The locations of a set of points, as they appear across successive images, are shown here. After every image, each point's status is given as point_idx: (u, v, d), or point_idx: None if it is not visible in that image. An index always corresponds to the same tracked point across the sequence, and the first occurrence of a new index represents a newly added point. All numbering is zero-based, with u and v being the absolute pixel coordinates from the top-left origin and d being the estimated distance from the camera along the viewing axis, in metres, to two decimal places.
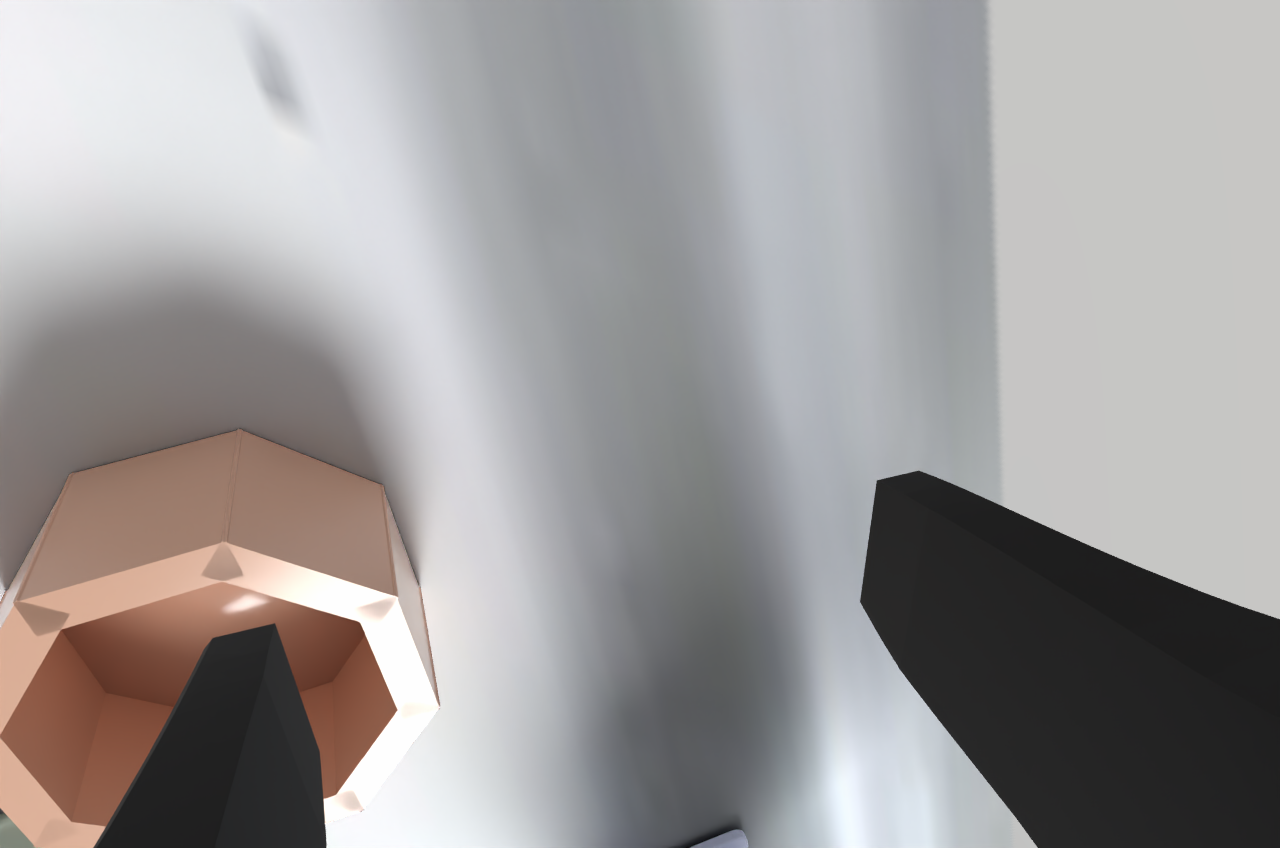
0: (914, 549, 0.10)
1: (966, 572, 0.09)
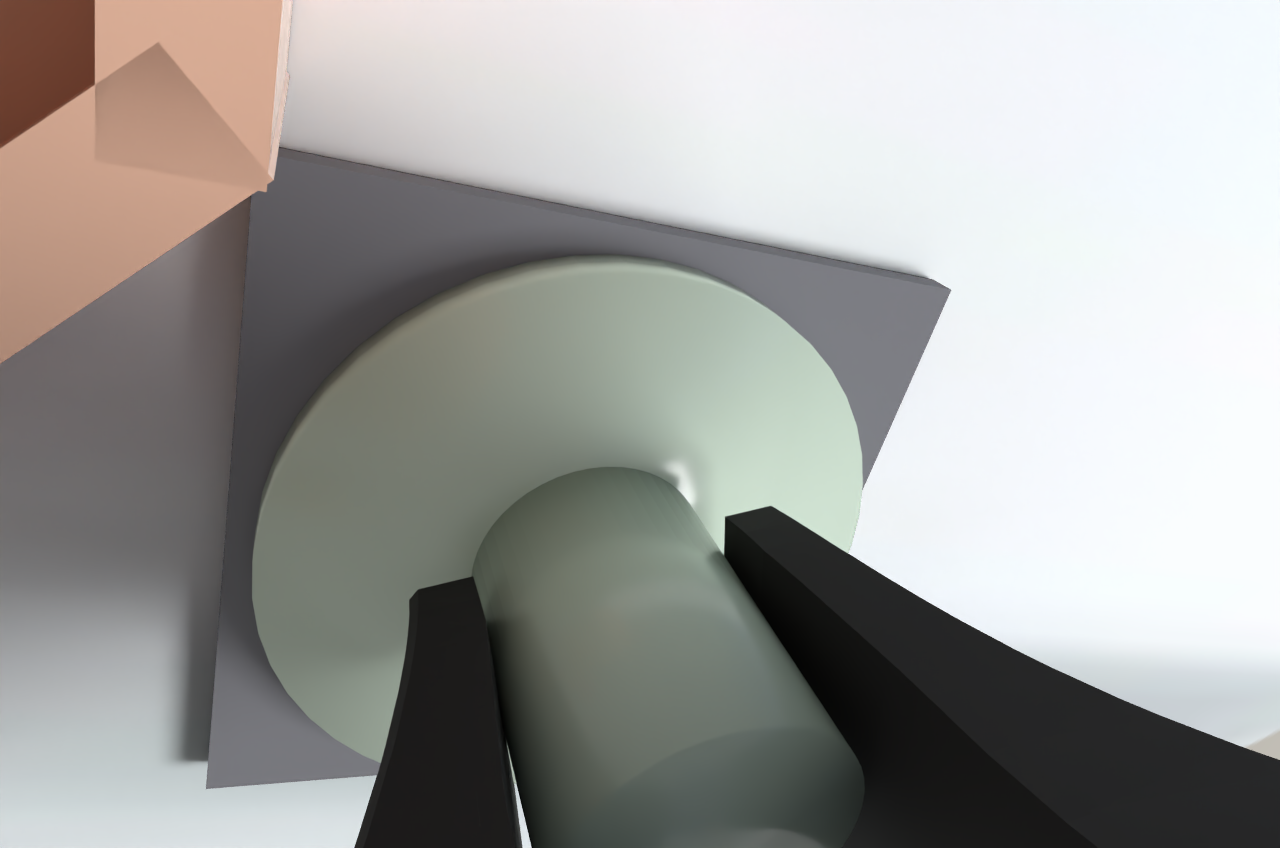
0: (756, 591, 0.09)
1: (796, 619, 0.09)
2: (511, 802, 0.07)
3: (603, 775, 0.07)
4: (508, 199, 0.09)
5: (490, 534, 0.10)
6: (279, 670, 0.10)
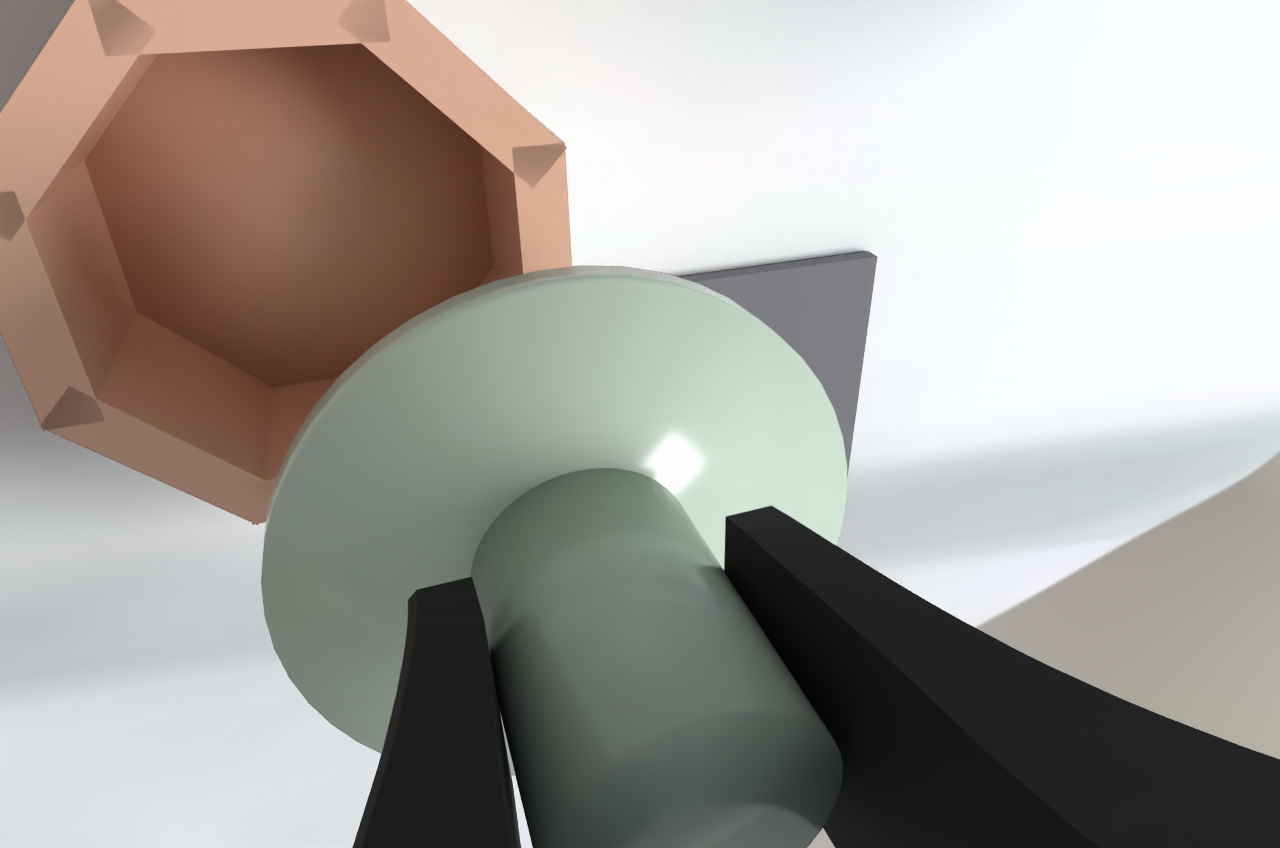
0: (757, 590, 0.09)
1: (797, 618, 0.09)
2: (510, 802, 0.07)
3: (583, 764, 0.07)
4: None
5: (483, 541, 0.10)
6: (298, 681, 0.11)
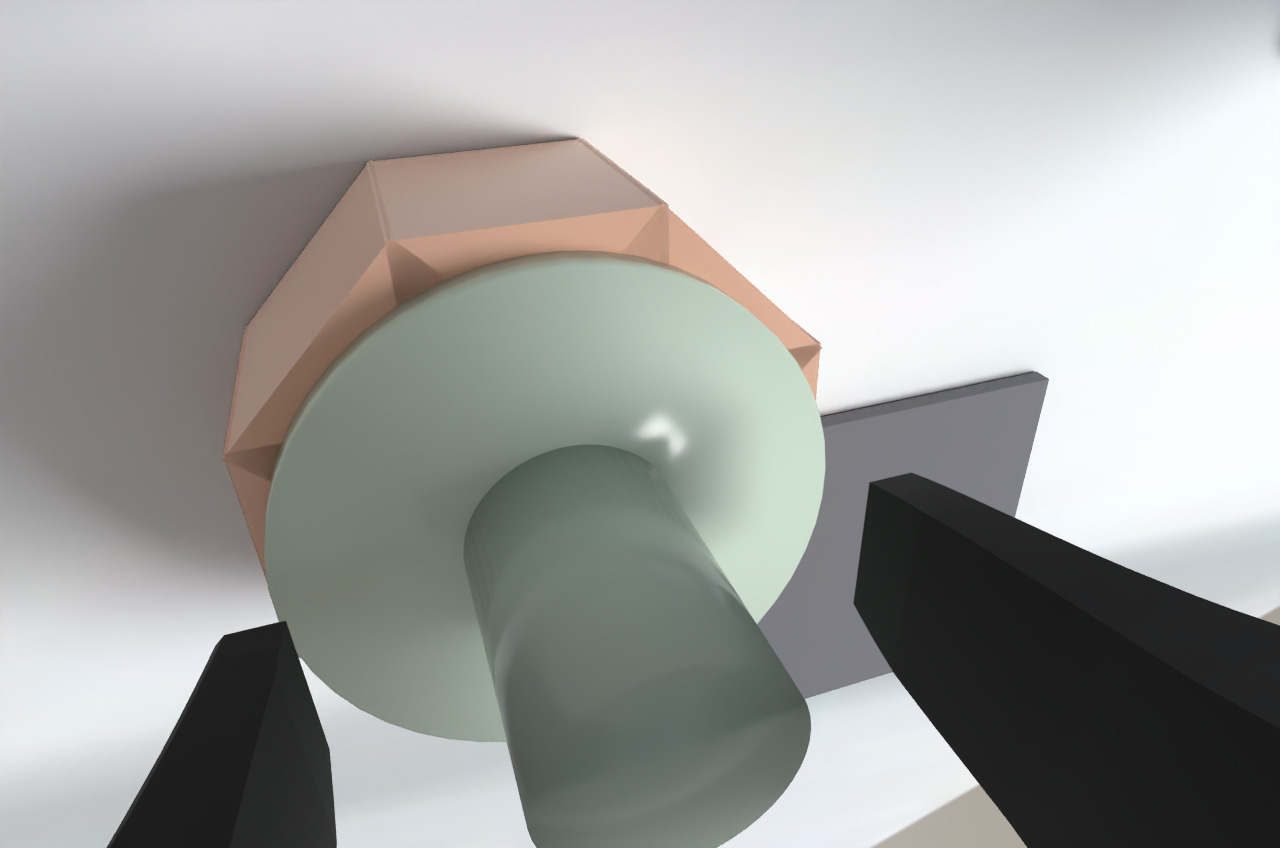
0: (906, 551, 0.10)
1: (958, 574, 0.09)
2: None
3: (563, 717, 0.08)
4: None
5: (474, 515, 0.11)
6: (302, 651, 0.11)
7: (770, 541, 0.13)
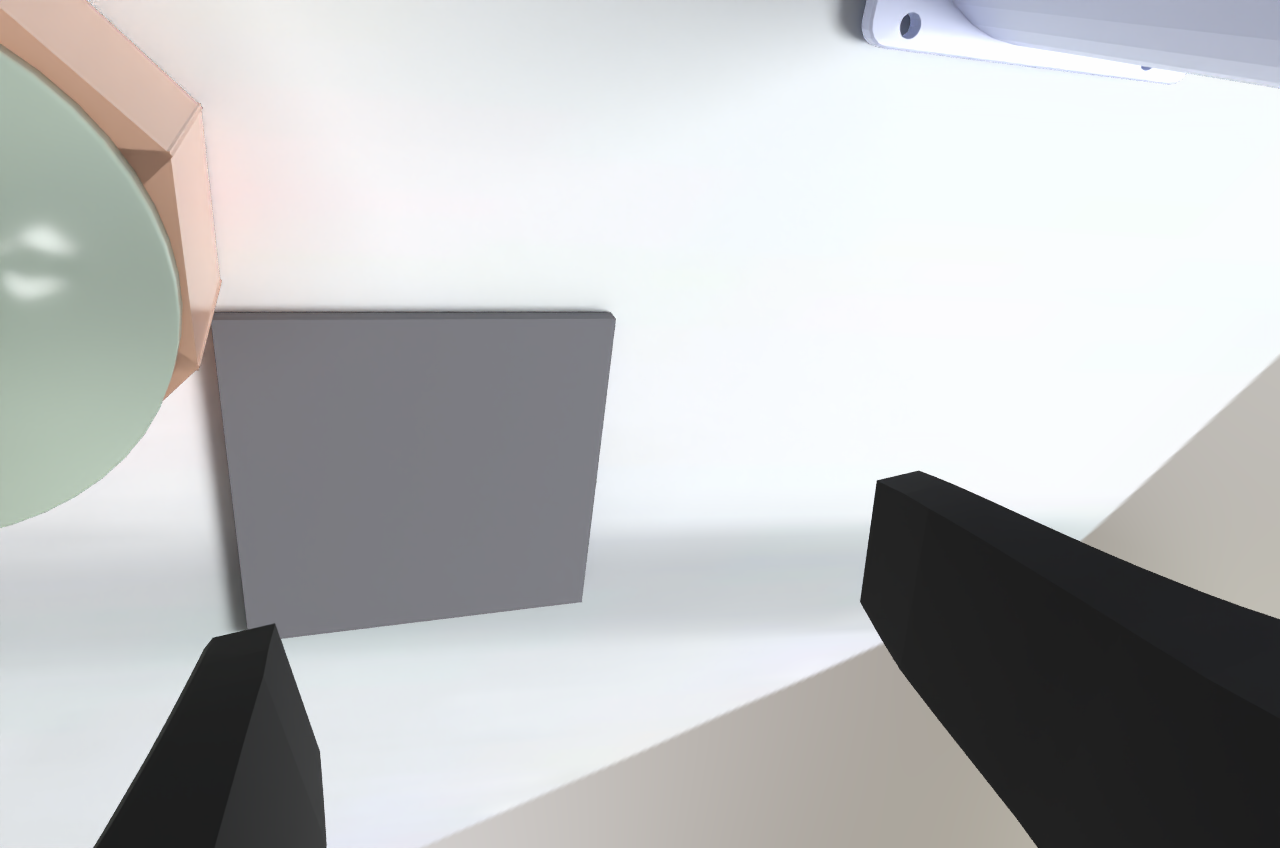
0: (914, 549, 0.10)
1: (966, 572, 0.09)
2: None
3: None
4: (340, 317, 0.17)
5: None
6: None
7: (119, 359, 0.12)
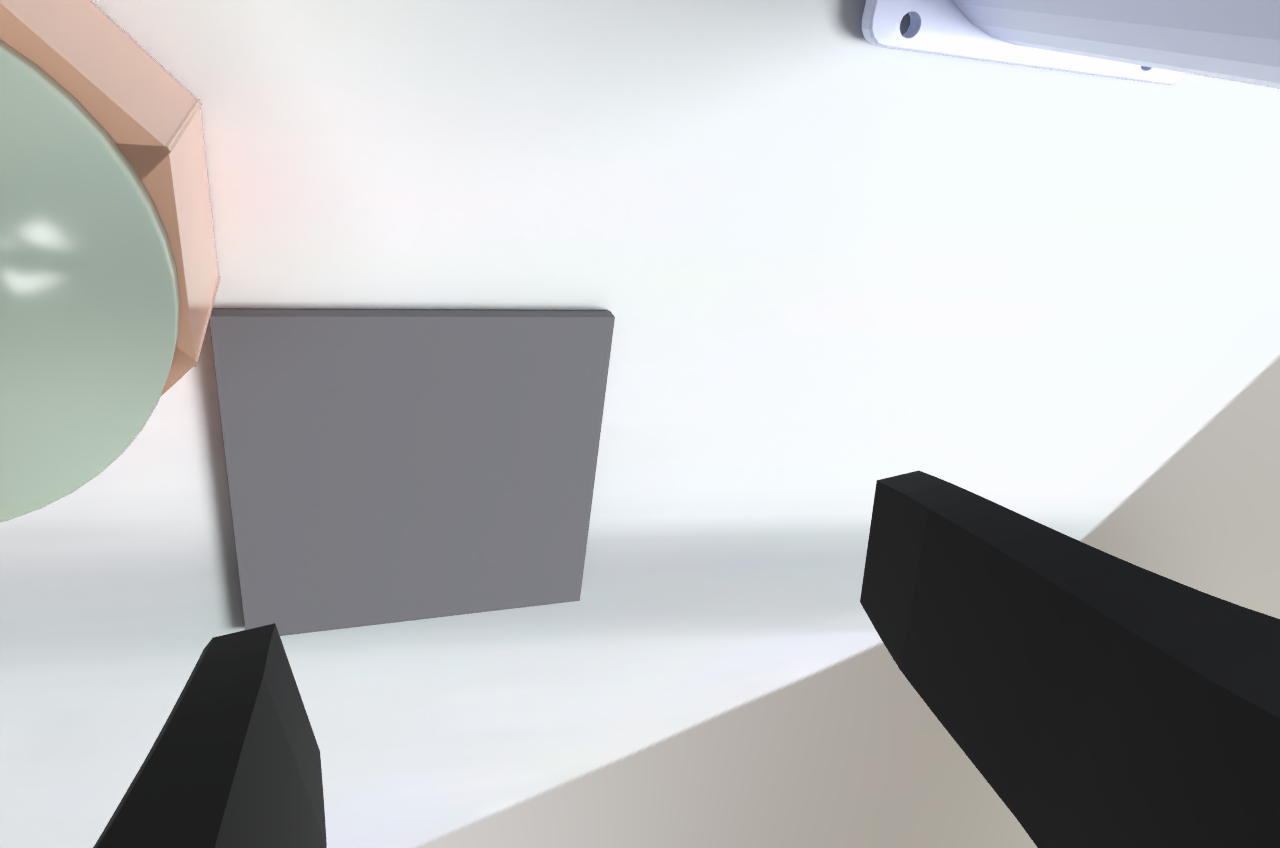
0: (914, 549, 0.10)
1: (966, 572, 0.09)
2: None
3: None
4: (339, 314, 0.17)
5: None
6: None
7: (116, 354, 0.12)
